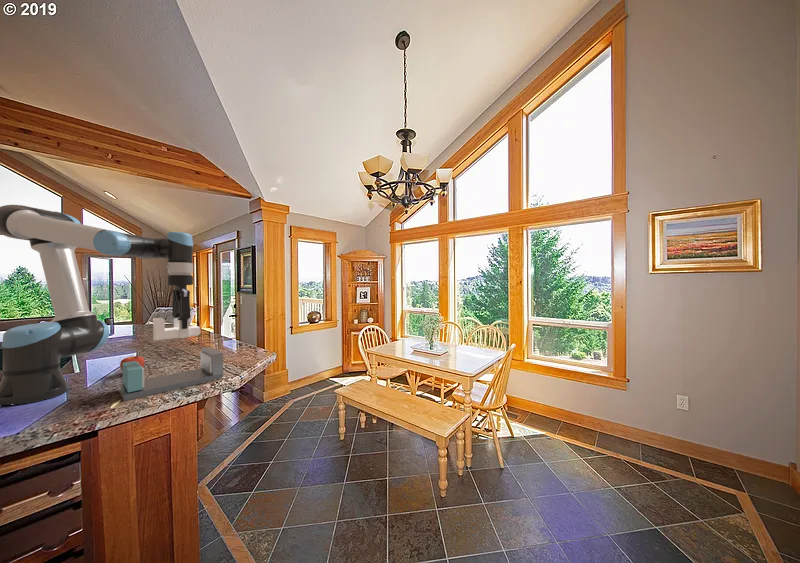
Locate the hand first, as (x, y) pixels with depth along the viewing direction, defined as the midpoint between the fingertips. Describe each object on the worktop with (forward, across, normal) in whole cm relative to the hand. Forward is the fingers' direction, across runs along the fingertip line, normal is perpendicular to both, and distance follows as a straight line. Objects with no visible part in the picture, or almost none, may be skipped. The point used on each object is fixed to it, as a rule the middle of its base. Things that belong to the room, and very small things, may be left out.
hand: (181, 336), depth 109 cm
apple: (+17, -27, -10) cm, 34 cm away
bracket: (+1, 0, -1) cm, 1 cm away
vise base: (+17, 0, -2) cm, 17 cm away
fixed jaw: (+15, 0, +10) cm, 18 cm away
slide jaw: (+15, 0, -13) cm, 20 cm away
